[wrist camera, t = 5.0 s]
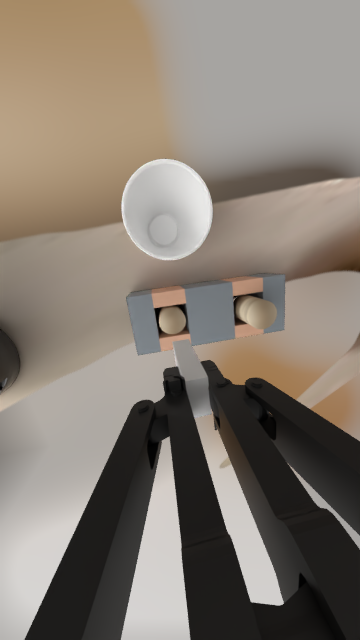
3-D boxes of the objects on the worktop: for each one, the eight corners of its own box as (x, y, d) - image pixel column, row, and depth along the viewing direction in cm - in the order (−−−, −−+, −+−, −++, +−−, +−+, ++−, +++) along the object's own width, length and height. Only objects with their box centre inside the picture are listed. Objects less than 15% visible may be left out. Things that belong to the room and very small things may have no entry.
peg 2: (232, 320, 33) (249, 331, 27) (231, 296, 32) (248, 303, 26) (255, 316, 33) (276, 326, 27) (254, 293, 32) (277, 298, 26)
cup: (206, 229, 33) (231, 210, 22) (166, 275, 34) (172, 278, 23) (159, 180, 30) (163, 133, 19) (118, 232, 31) (101, 214, 20)
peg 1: (160, 325, 35) (161, 336, 30) (156, 303, 34) (157, 310, 29) (181, 321, 36) (187, 331, 30) (179, 300, 35) (184, 306, 29)
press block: (140, 341, 36) (137, 355, 30) (130, 292, 34) (126, 297, 28) (264, 320, 38) (284, 330, 32) (263, 273, 36) (285, 274, 30)
